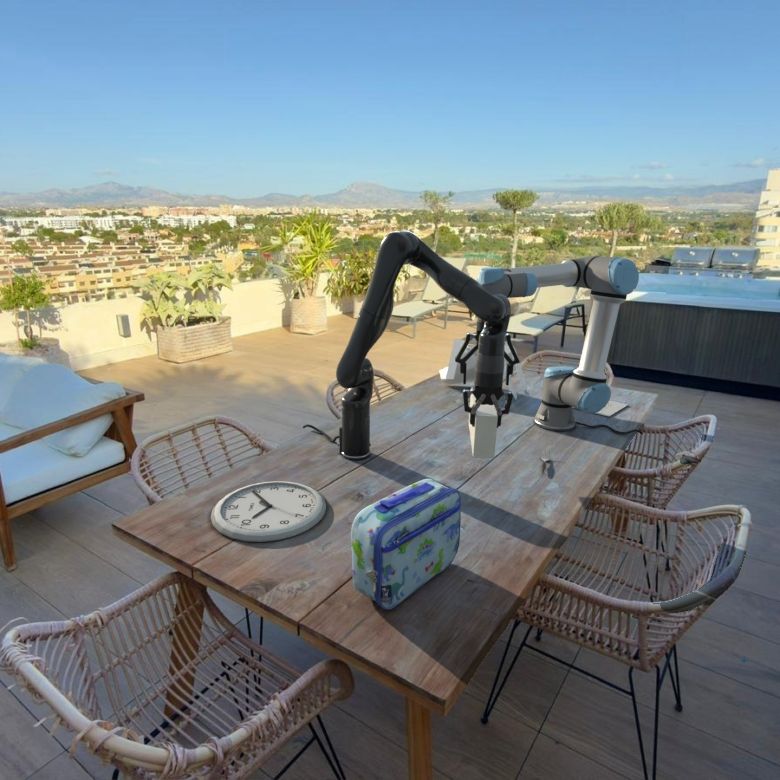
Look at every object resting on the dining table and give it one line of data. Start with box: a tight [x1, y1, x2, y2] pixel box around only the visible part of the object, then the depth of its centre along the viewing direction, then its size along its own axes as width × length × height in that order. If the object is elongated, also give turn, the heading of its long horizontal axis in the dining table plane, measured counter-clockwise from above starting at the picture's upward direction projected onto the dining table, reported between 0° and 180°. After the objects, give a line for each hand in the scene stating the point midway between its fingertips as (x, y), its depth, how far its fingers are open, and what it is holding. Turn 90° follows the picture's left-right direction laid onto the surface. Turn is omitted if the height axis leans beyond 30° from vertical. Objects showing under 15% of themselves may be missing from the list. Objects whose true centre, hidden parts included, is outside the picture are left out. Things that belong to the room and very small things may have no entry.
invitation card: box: [573, 399, 629, 418], centre depth 226 cm, size 21×1×15 cm
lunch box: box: [350, 478, 462, 611], centre depth 110 cm, size 26×11×21 cm, turn 135°
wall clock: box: [210, 480, 327, 543], centre depth 140 cm, size 30×2×30 cm
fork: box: [541, 449, 551, 474], centre depth 169 cm, size 3×16×2 cm, turn 160°
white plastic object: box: [438, 338, 531, 400], centre depth 245 cm, size 37×45×31 cm
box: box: [468, 386, 498, 460], centre depth 158 cm, size 27×6×13 cm, turn 174°
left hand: (485, 426), depth 147 cm, fingers closed on box, 6 cm apart
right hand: (485, 383), depth 169 cm, fingers open, 13 cm apart
